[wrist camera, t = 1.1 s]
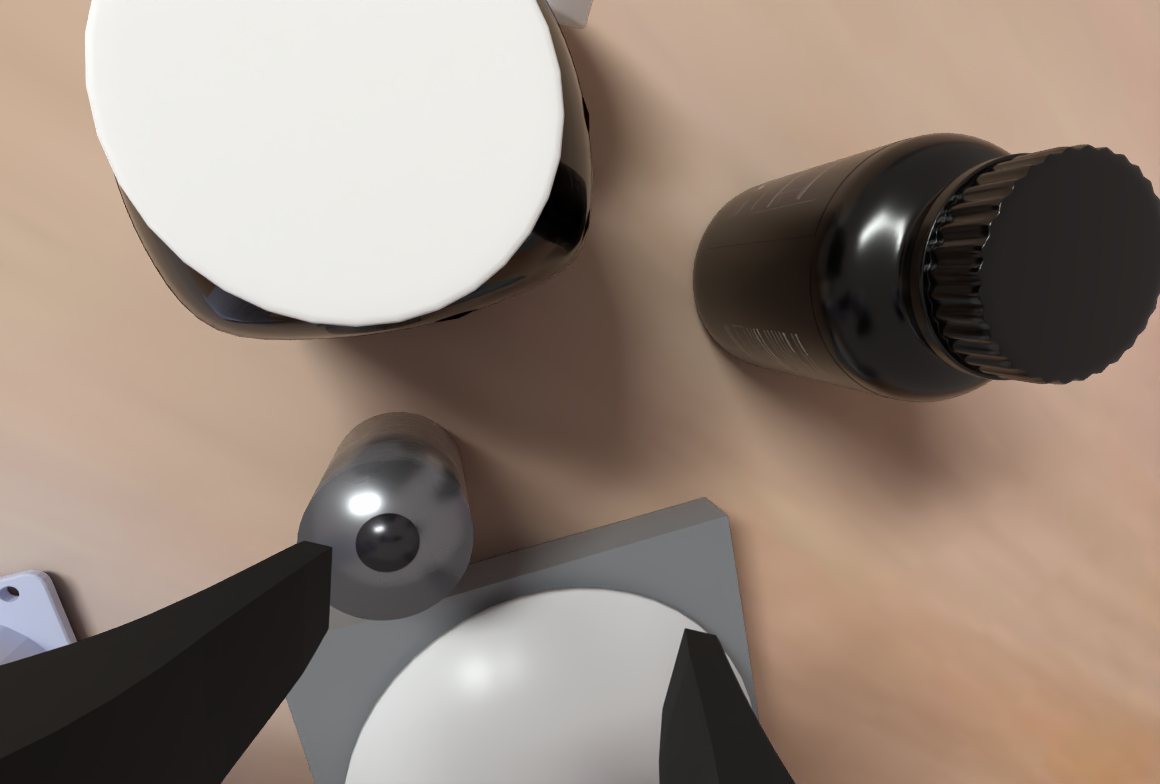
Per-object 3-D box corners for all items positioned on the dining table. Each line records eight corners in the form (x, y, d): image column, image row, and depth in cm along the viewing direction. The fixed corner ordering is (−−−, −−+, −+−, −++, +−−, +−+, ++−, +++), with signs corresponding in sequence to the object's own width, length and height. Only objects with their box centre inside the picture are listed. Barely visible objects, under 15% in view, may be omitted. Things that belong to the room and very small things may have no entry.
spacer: (351, 547, 22) (324, 643, 17) (316, 429, 22) (274, 487, 16) (474, 514, 23) (490, 594, 17) (446, 398, 22) (452, 442, 17)
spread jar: (262, 342, 21) (66, 421, 10) (146, -44, 18) (-304, -552, 7) (613, 271, 23) (789, 268, 12) (552, -83, 20) (700, -515, 9)
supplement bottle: (868, 324, 26) (1228, 364, 14) (719, 392, 25) (973, 495, 13) (824, 153, 24) (1190, 40, 12) (661, 219, 23) (895, 163, 11)
